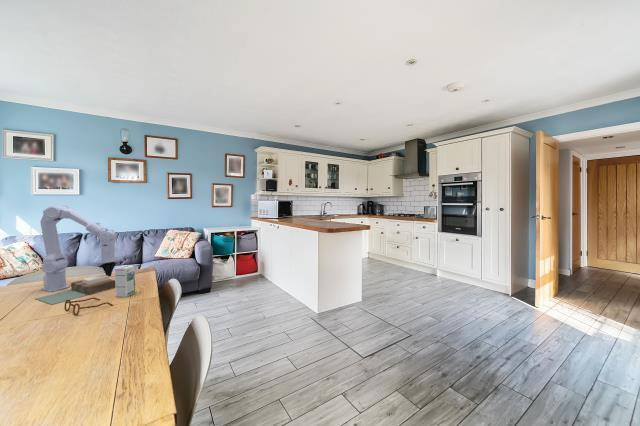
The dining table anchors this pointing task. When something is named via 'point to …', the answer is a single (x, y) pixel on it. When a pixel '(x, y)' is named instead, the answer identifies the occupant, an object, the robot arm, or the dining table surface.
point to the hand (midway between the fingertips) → (108, 276)
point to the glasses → (81, 307)
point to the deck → (92, 286)
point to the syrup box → (125, 281)
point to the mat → (60, 297)
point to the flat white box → (95, 279)
